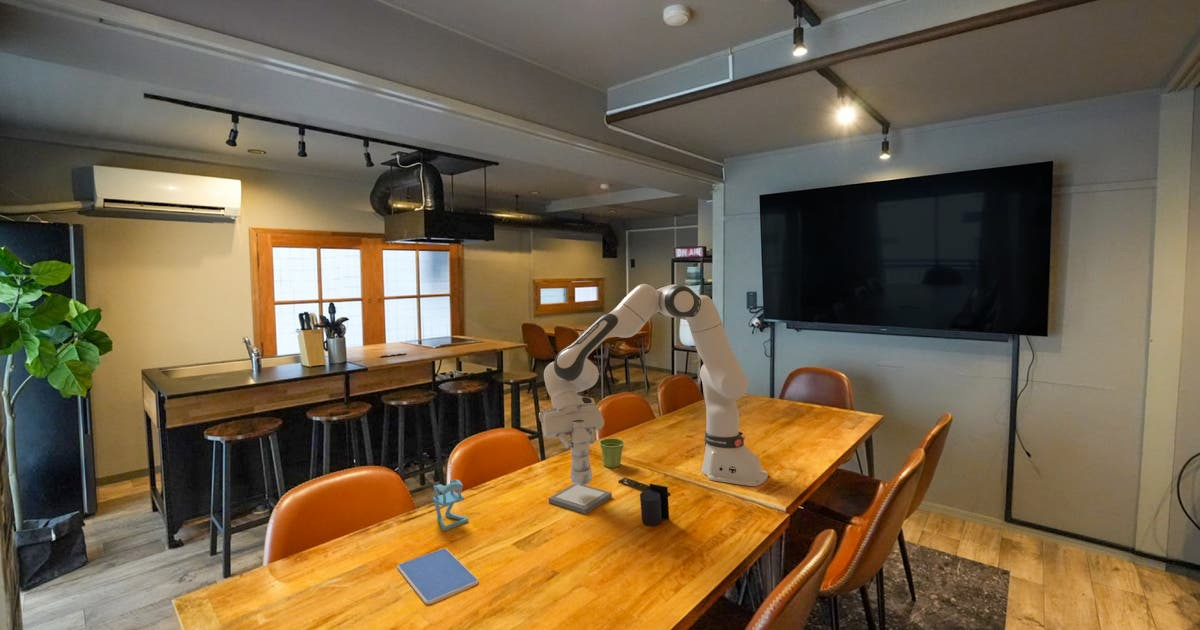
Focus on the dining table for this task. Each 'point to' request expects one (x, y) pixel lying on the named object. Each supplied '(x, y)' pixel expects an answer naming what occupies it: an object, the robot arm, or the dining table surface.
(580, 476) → the plastic bottle
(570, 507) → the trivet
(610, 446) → the plant pot
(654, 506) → the speaker
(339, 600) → the dining table surface
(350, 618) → the dining table surface
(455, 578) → the tablet computer
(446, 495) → the chair
